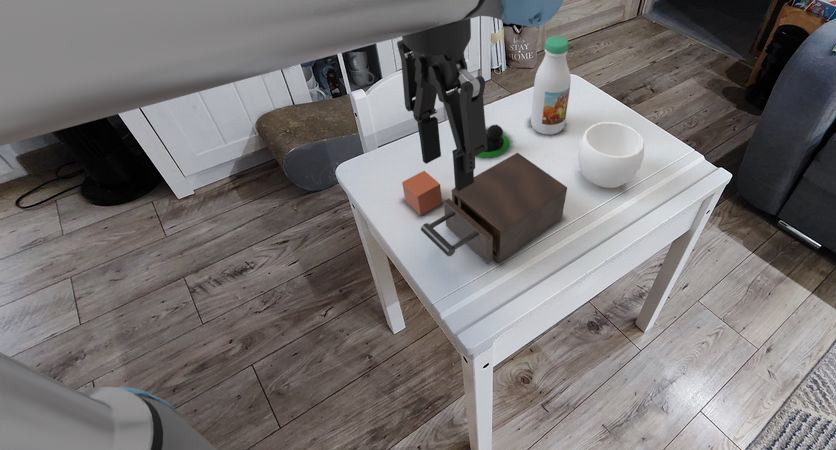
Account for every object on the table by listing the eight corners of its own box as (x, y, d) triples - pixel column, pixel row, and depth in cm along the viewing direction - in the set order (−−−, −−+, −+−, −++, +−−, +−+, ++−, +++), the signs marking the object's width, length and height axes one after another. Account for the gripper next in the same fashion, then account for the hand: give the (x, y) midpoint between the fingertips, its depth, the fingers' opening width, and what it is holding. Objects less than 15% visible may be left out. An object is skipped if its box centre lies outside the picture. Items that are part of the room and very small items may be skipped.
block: (420, 215, 85) (417, 196, 81) (405, 201, 87) (401, 182, 83) (442, 203, 87) (440, 184, 83) (426, 189, 89) (424, 170, 86)
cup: (564, 163, 96) (570, 125, 88) (617, 153, 98) (627, 115, 91) (589, 203, 88) (598, 165, 81) (646, 191, 90) (659, 153, 83)
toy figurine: (487, 124, 104) (487, 102, 100) (518, 144, 100) (520, 121, 95) (454, 142, 100) (452, 120, 95) (485, 164, 95) (485, 142, 91)
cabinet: (499, 263, 78) (500, 231, 72) (453, 221, 84) (451, 189, 78) (561, 219, 85) (567, 187, 79) (515, 184, 91) (517, 152, 85)
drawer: (457, 284, 73) (455, 260, 69) (416, 243, 79) (412, 218, 74) (547, 222, 83) (551, 197, 78) (505, 189, 89) (506, 164, 84)
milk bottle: (527, 132, 103) (534, 47, 88) (533, 113, 108) (541, 29, 93) (561, 138, 102) (574, 52, 87) (566, 118, 107) (579, 34, 92)
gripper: (525, 27, 44) (514, 196, 61) (409, -31, 54) (428, 129, 71) (466, 51, 41) (472, 223, 58) (353, -16, 51) (387, 149, 68)
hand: (447, 171), depth 64 cm, fingers open, 7 cm apart
